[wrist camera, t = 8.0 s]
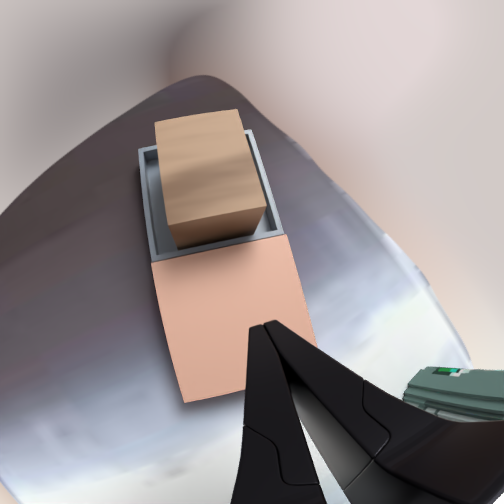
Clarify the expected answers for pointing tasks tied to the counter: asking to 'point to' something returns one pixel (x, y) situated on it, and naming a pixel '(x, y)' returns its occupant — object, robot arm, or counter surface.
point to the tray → (157, 219)
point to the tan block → (208, 179)
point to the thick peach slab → (226, 310)
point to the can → (458, 393)
